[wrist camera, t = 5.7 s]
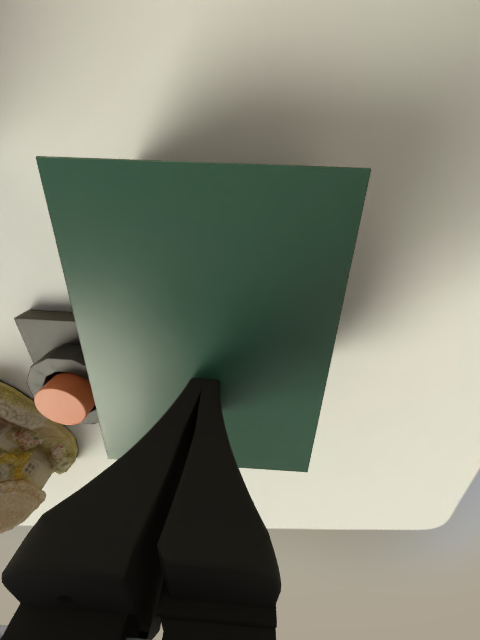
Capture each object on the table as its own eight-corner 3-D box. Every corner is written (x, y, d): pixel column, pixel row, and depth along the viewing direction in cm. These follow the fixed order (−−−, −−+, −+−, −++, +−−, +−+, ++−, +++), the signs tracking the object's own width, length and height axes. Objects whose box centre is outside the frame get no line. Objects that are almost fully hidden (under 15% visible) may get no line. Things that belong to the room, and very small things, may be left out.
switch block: (67, 407, 24) (43, 436, 21) (28, 309, 19) (-10, 330, 16) (149, 412, 24) (136, 442, 21) (131, 315, 19) (110, 337, 16)
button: (59, 405, 20) (43, 423, 19) (44, 370, 18) (25, 386, 17) (104, 408, 20) (91, 426, 18) (92, 372, 18) (78, 390, 17)
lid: (305, 461, 14) (307, 472, 14) (114, 448, 15) (107, 459, 14) (363, 171, 9) (371, 167, 8) (50, 159, 9) (34, 155, 8)
